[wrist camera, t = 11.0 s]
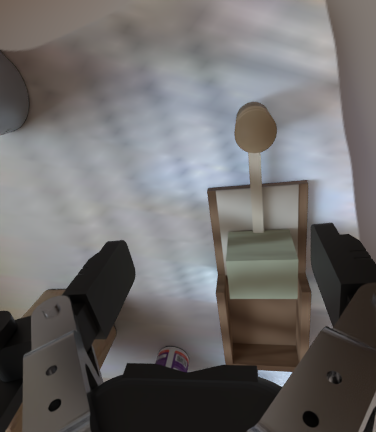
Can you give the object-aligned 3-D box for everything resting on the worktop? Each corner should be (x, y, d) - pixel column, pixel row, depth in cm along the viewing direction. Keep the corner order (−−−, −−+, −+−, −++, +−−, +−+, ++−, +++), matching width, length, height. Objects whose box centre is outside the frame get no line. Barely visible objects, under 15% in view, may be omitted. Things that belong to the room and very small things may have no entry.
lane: (208, 188, 34) (203, 203, 30) (306, 180, 32) (315, 195, 28) (227, 342, 45) (226, 368, 41) (301, 344, 43) (307, 372, 39)
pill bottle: (160, 365, 51) (143, 425, 42) (157, 343, 48) (138, 402, 40) (190, 368, 50) (179, 430, 41) (188, 347, 47) (176, 408, 39)
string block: (215, 107, 28) (208, 117, 22) (289, 96, 27) (303, 104, 21) (231, 265, 37) (229, 305, 30) (289, 264, 35) (299, 305, 29)
